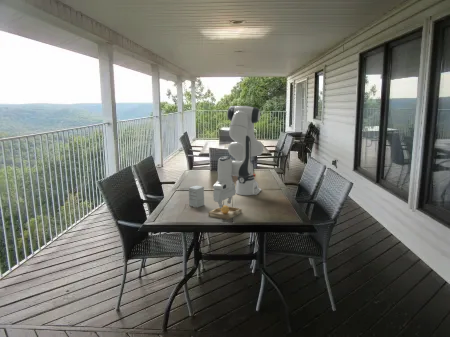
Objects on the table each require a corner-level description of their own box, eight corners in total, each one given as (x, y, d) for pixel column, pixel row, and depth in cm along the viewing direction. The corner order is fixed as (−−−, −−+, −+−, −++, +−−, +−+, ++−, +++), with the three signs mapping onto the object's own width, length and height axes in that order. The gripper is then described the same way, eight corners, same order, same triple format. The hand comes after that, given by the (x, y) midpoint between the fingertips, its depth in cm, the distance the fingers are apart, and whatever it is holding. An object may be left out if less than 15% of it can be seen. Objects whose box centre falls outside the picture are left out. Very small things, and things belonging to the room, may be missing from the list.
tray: (222, 209, 225) (222, 205, 225) (241, 212, 218) (241, 208, 218) (208, 216, 212) (208, 212, 212) (228, 219, 205) (228, 215, 204)
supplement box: (196, 203, 239) (196, 185, 236) (204, 205, 234) (204, 186, 232) (188, 205, 233) (188, 187, 231) (196, 207, 229) (196, 189, 226)
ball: (223, 211, 218) (223, 203, 217) (230, 212, 216) (230, 205, 215) (219, 213, 214) (219, 205, 213) (226, 215, 212) (226, 207, 211)
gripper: (229, 179, 222) (229, 200, 224) (211, 186, 205) (211, 209, 207) (238, 180, 219) (238, 202, 221) (220, 187, 201) (220, 210, 204)
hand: (225, 205), depth 214 cm, fingers open, 8 cm apart
